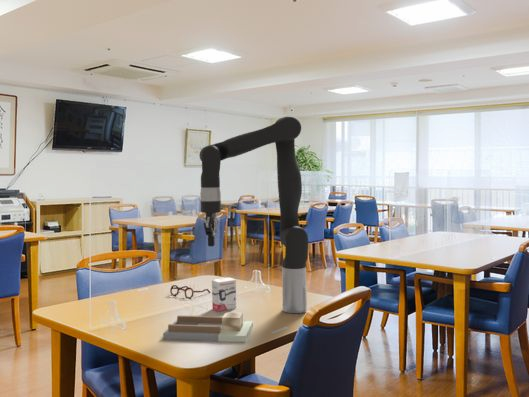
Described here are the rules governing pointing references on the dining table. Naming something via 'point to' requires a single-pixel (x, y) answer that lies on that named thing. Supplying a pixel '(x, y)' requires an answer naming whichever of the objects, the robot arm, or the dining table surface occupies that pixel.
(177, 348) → the dining table surface
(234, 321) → the beech block
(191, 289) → the glasses
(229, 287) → the ink box
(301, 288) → the robot arm
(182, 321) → the channel deck
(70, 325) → the dining table surface
